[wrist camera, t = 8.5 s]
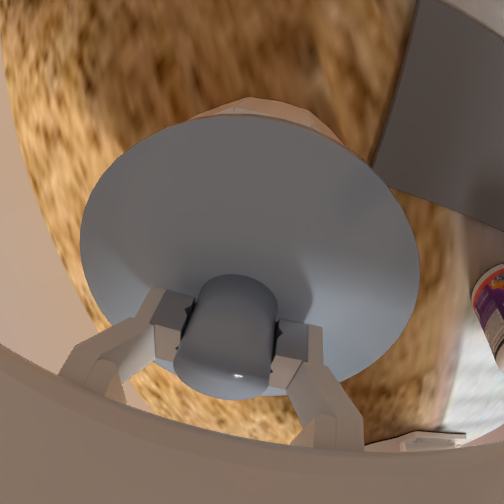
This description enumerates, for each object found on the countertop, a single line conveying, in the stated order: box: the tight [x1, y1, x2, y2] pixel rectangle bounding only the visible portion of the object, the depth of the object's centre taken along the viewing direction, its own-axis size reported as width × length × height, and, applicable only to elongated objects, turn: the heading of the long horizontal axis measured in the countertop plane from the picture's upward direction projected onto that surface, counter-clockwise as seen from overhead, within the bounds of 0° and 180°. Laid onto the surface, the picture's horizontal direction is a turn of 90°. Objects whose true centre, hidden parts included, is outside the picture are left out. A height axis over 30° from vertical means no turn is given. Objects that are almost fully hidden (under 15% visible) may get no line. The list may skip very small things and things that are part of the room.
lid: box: [80, 114, 420, 400], centre depth 10 cm, size 13×13×4 cm
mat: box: [371, 0, 504, 232], centre depth 14 cm, size 12×12×1 cm
